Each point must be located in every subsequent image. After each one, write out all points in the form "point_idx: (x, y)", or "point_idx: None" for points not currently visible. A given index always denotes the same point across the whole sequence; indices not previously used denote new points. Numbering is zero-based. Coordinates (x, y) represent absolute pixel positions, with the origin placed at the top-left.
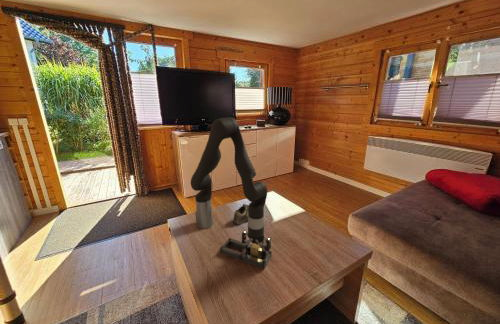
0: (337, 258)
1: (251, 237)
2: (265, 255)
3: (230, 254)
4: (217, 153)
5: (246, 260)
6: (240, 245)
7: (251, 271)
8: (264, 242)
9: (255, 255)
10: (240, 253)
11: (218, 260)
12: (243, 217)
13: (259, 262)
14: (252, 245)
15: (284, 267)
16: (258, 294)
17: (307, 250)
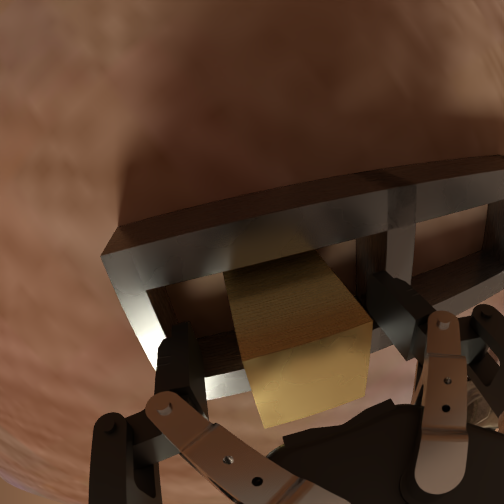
0: (3, 454)
1: (455, 484)
2: (158, 351)
3: (465, 166)
4: None
5: (324, 187)
6: (443, 290)
7: (200, 119)
8: (221, 492)
9: (264, 287)
10: (419, 209)
11: (482, 89)
12: (466, 421)
13: (161, 238)
14: (364, 365)
15: (39, 338)
16: (17, 4)
17: (83, 461)
